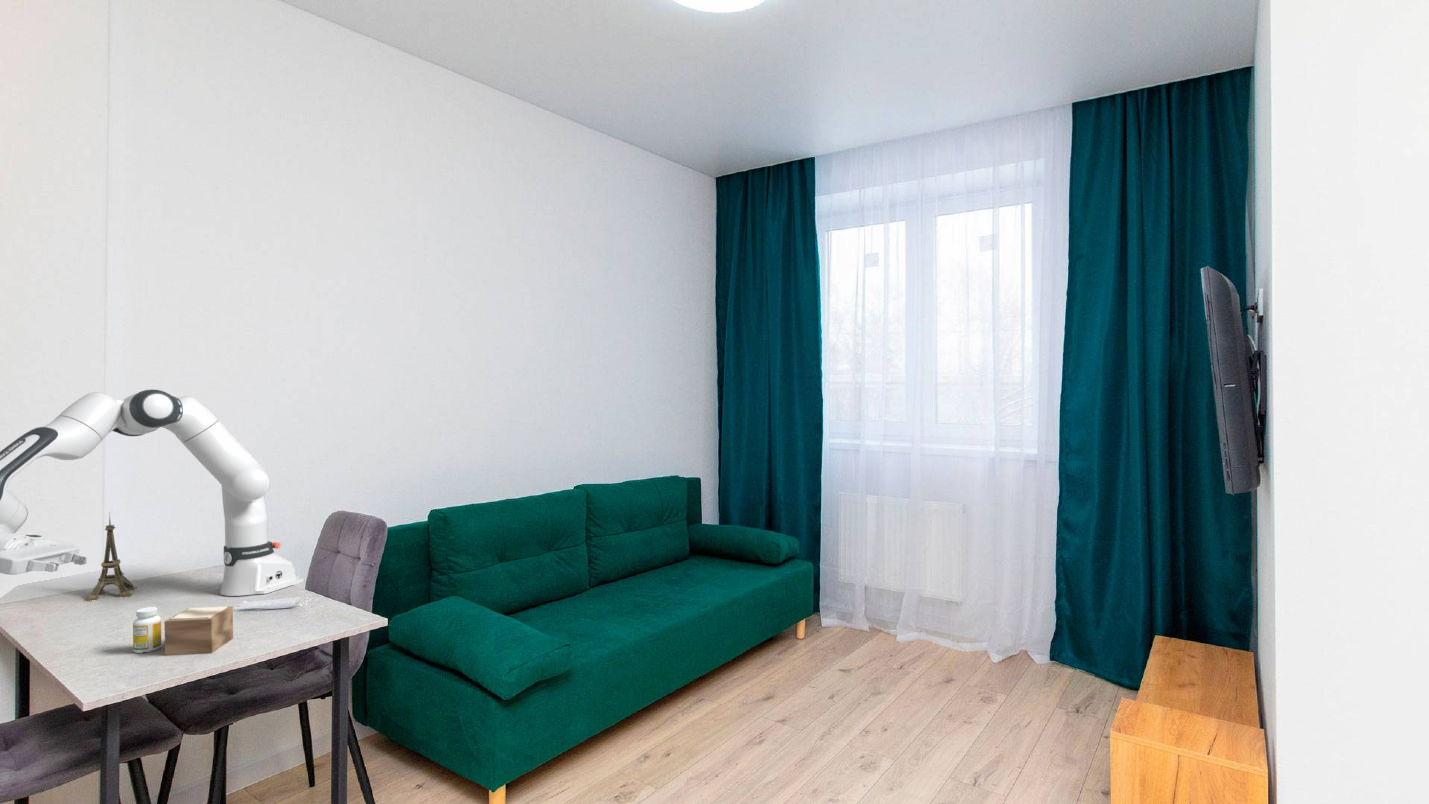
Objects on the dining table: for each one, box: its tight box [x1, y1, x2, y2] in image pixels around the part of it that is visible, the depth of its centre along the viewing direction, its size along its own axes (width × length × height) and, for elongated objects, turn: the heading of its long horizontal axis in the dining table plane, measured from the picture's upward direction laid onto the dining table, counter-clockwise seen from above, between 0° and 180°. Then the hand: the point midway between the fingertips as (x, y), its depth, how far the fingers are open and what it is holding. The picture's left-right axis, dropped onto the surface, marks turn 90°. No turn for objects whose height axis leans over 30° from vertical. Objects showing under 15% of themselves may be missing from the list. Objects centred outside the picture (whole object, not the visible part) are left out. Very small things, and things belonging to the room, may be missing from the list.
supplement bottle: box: [132, 606, 162, 654], centre depth 175 cm, size 5×5×10 cm
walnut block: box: [163, 605, 234, 656], centre depth 177 cm, size 10×10×8 cm
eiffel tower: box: [84, 511, 138, 602], centre depth 220 cm, size 11×11×25 cm
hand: (70, 564), depth 173 cm, fingers open, 8 cm apart
